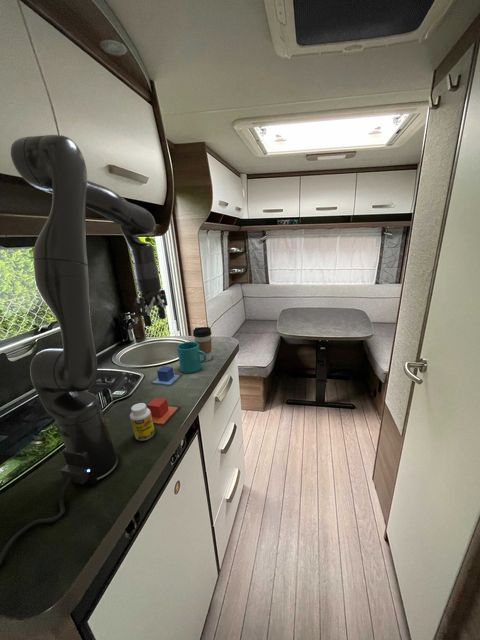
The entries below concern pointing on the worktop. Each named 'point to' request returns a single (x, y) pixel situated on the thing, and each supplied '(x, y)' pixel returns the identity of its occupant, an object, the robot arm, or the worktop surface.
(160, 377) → the blue block
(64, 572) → the worktop surface
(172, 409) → the orange coaster
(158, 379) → the blue coaster
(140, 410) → the supplement bottle
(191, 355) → the cup
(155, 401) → the red block
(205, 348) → the coffee cup
